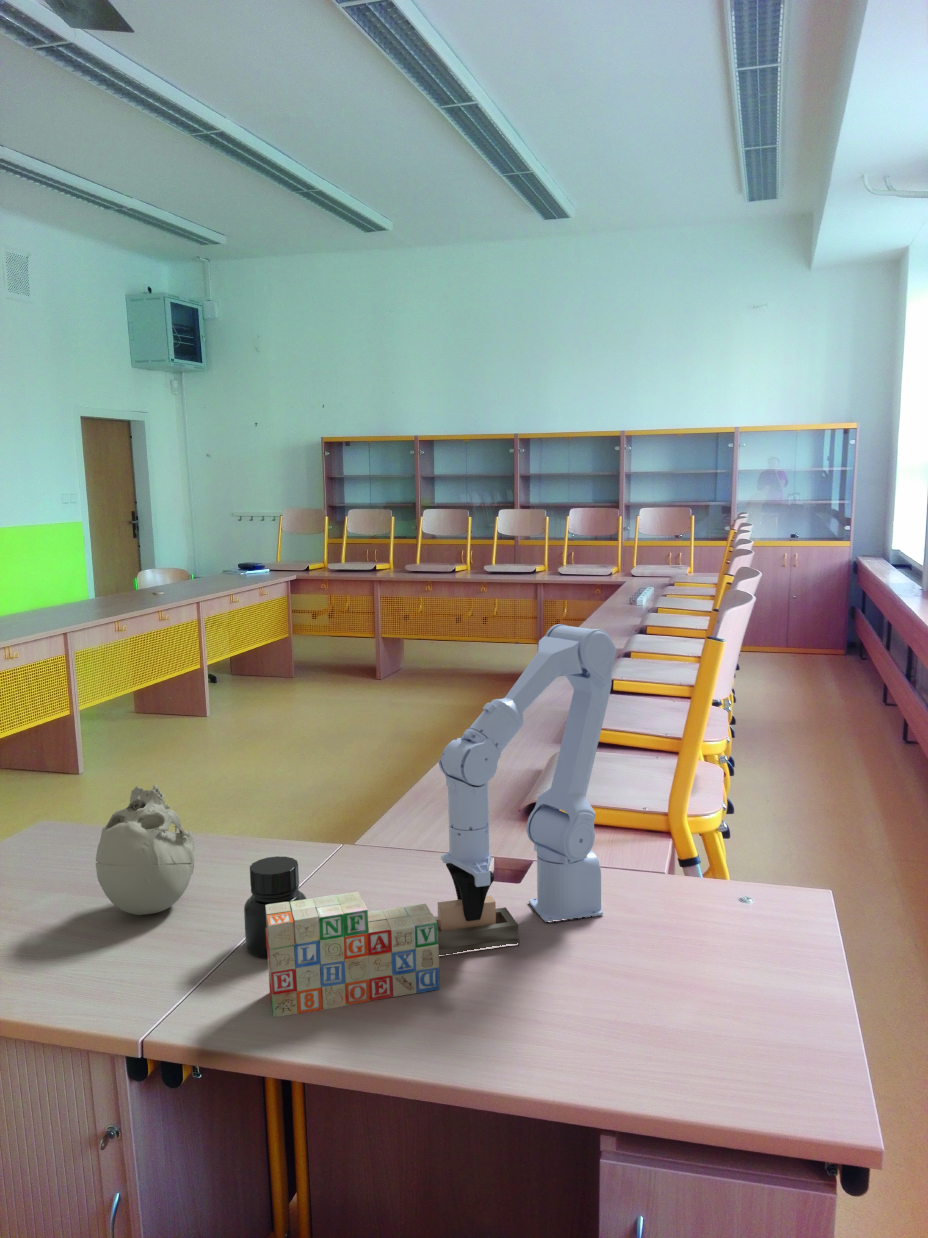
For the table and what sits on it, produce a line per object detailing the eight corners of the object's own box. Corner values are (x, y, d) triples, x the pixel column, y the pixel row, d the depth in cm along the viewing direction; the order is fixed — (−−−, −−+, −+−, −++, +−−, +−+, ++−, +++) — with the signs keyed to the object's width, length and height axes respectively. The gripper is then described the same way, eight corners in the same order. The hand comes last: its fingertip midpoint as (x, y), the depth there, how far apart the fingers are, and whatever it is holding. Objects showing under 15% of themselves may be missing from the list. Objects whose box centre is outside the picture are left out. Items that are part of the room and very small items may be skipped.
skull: (205, 894, 149) (199, 775, 146) (167, 936, 134) (159, 805, 132) (131, 892, 150) (124, 774, 148) (85, 933, 135) (76, 803, 133)
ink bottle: (293, 964, 125) (289, 880, 123) (234, 959, 127) (229, 876, 125) (318, 932, 134) (315, 854, 133) (263, 928, 136) (259, 851, 135)
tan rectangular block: (491, 928, 132) (491, 895, 132) (496, 935, 130) (495, 901, 130) (438, 935, 130) (437, 902, 130) (441, 942, 128) (441, 908, 128)
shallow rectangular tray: (505, 926, 135) (505, 907, 135) (519, 945, 129) (518, 925, 129) (424, 937, 132) (423, 917, 132) (434, 958, 126) (433, 937, 125)
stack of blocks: (428, 968, 123) (426, 881, 122) (440, 991, 117) (437, 900, 116) (268, 993, 117) (264, 903, 116) (271, 1019, 111) (267, 923, 110)
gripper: (430, 810, 134) (432, 898, 136) (453, 844, 120) (455, 941, 122) (476, 806, 136) (477, 892, 138) (504, 838, 122) (505, 934, 124)
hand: (470, 915), depth 130 cm, fingers closed on tan rectangular block, 2 cm apart
